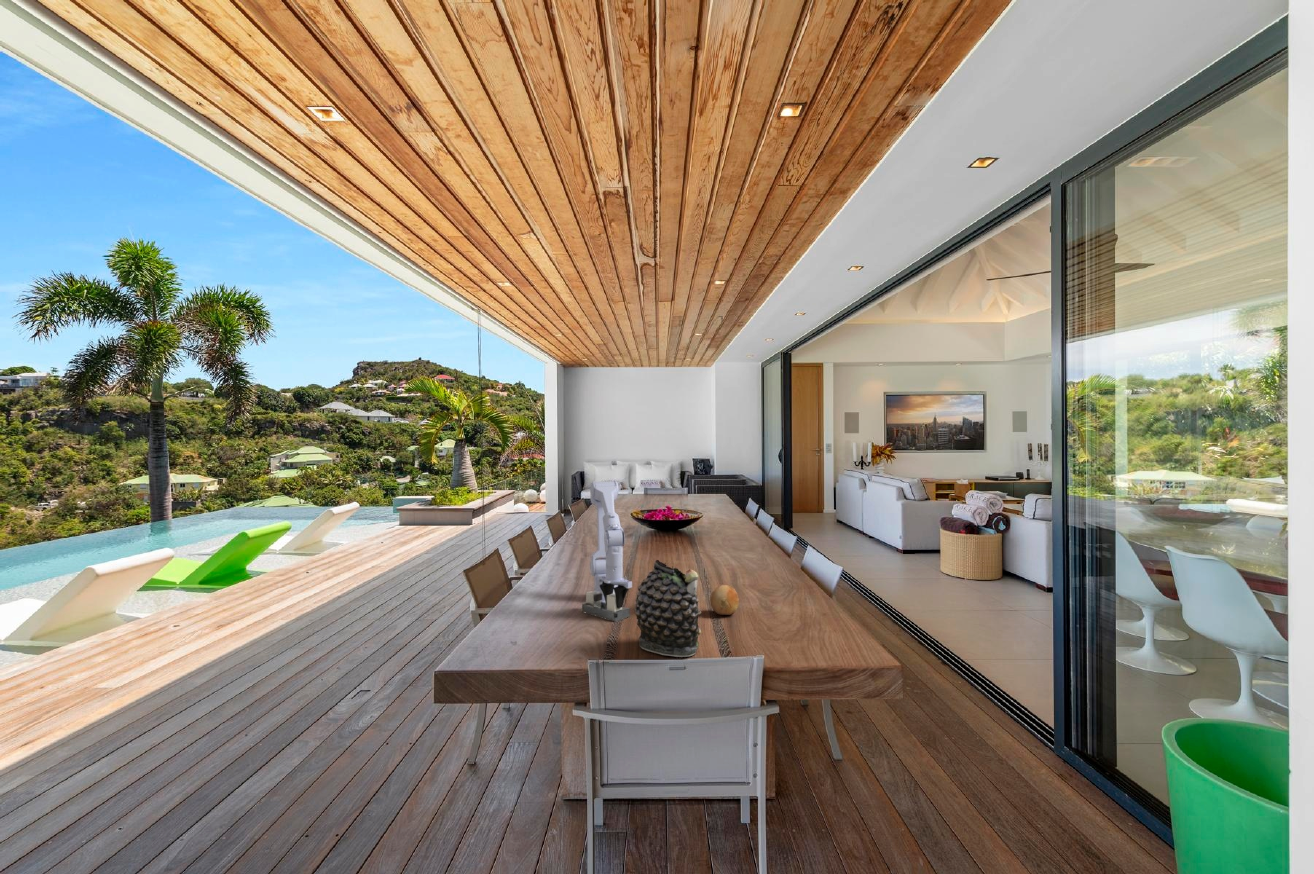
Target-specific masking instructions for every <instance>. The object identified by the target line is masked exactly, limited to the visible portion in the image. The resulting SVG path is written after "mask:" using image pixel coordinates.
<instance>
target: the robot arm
mask: <svg viewBox="0 0 1314 874" xmlns="http://www.w3.org/2000/svg"><path fill="white" fill-rule="evenodd" d="M589 487H590V488H589V490H590V491H589V492H590V493H589V494H590V504H592V505H595V508H596V525H597V526H596V529H597V531H596V532H597V533H596V535H597V536H596V537H597V549H596V550H594V552H592V553H591V555H590V561H589V571H590V575H592V577H594V578H593V579H594V589H593V590H595V591H599V592H601V593H602V600H601V601H602V602H606V595H610V594H614V593H615V596H616V606H617V608H621V607H624V606H623V605H624V601H625V598H626V595H627V593H628V591H629V590H630V588H631V589H632V588H633V581H630V580H628V579H627V578H624V577H623V576H624V574H623V573H624V571H623V569H624V568H623V567H624V566H623V565H624V563H623V562H624V558H623V557H624V552H623V551H624V548H623V547H625V544H626V543H625V542H626V536H625V532H624V529H623V527H621V521H620V516H619V514H618V513H616V511H615V504H616V501H617V499H618V496H619V483H618V482H617V480H612V481H593V480H592V481H591V482H590V486H589ZM606 605H607V602H606Z"/></svg>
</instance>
